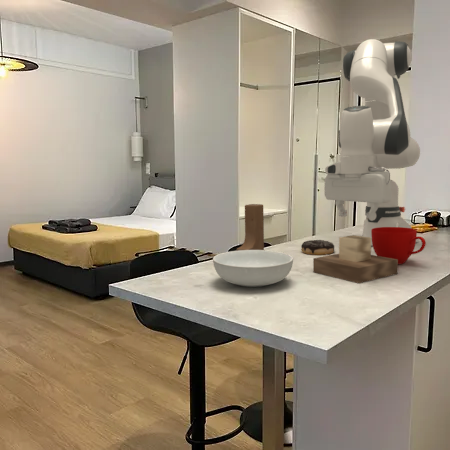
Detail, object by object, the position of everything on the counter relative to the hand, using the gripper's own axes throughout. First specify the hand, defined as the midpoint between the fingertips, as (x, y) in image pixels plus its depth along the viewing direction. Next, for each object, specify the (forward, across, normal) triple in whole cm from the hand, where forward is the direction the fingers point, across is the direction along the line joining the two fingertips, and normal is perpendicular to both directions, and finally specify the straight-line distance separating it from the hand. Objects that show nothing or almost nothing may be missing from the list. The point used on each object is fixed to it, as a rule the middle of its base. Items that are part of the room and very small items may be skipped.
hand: (356, 217), depth 123 cm
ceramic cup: (+16, 0, -19) cm, 25 cm away
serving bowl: (+15, +10, +29) cm, 34 cm away
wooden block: (+16, +32, +12) cm, 38 cm away
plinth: (+15, 0, +1) cm, 15 cm away
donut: (+16, +28, -14) cm, 35 cm away
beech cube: (+11, 0, +1) cm, 11 cm away
